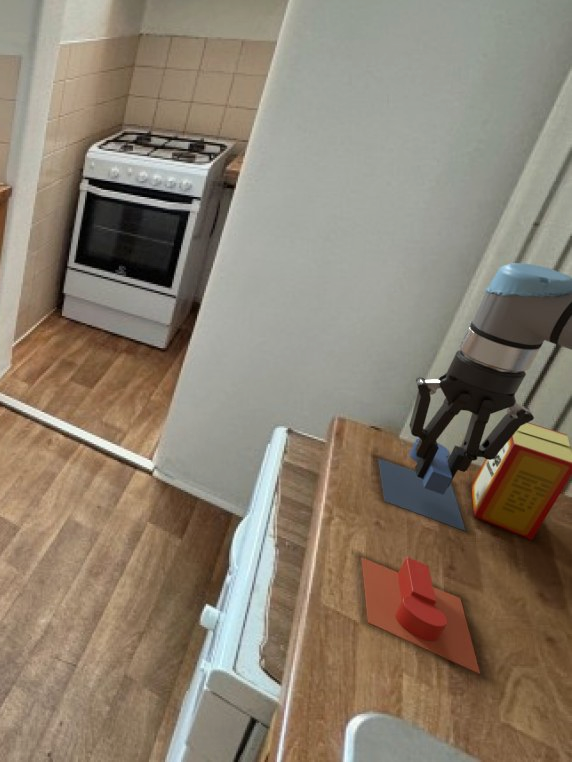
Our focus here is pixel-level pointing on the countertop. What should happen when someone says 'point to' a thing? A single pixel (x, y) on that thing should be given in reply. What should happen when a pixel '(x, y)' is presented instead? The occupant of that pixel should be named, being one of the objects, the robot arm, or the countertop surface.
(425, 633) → the red keyhole-shaped block
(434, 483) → the blue t-shaped piece
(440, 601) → the terracotta mat
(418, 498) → the slate mat
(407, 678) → the countertop surface
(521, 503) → the baking soda box
